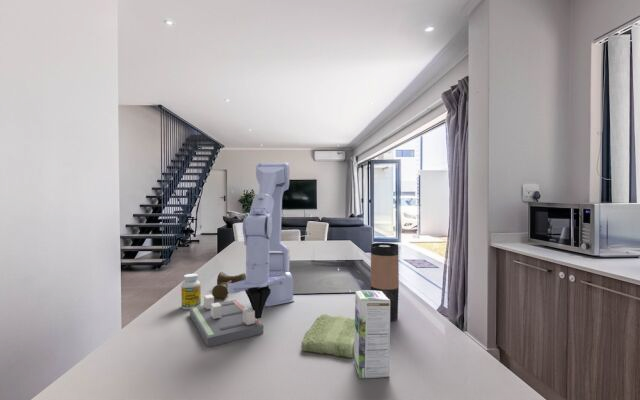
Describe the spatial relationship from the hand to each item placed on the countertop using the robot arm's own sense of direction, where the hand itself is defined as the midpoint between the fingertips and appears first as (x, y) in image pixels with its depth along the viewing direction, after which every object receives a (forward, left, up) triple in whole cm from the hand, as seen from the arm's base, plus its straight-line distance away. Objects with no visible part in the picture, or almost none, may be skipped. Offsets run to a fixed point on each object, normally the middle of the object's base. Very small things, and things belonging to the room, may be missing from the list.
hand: (257, 317), depth 77 cm
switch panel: (+6, -8, -3) cm, 11 cm away
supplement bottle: (+11, -26, -3) cm, 29 cm away
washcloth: (-14, +14, -4) cm, 20 cm away
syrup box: (-12, +29, -3) cm, 31 cm away
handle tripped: (+2, 0, -1) cm, 2 cm away
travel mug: (-33, +11, -3) cm, 35 cm away
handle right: (+8, -16, -1) cm, 18 cm away
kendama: (-3, -36, -3) cm, 36 cm away
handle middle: (+8, -8, -1) cm, 12 cm away
